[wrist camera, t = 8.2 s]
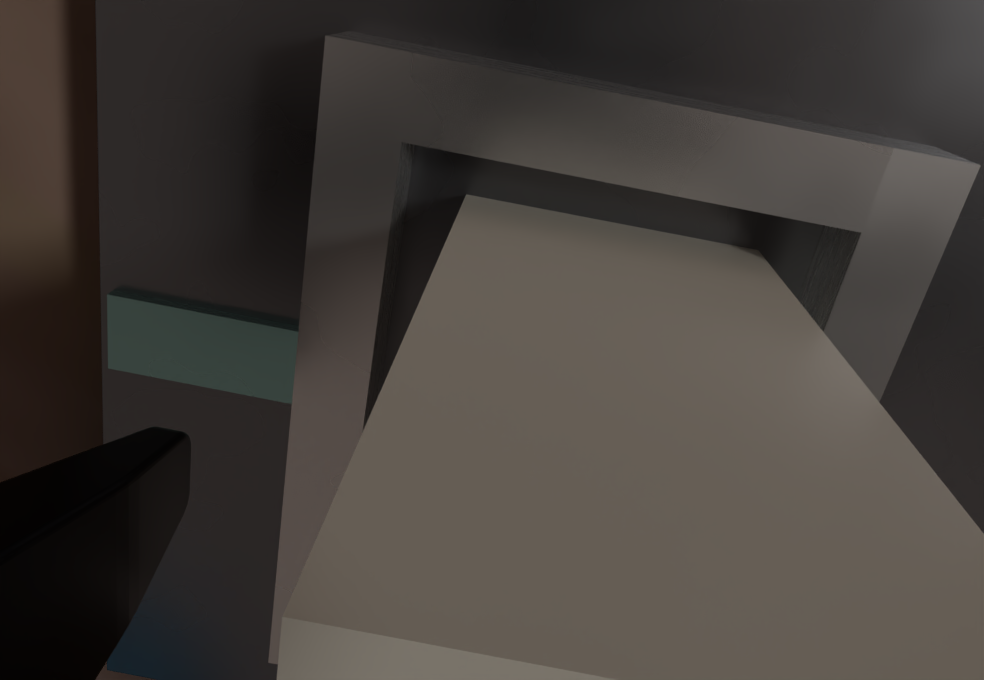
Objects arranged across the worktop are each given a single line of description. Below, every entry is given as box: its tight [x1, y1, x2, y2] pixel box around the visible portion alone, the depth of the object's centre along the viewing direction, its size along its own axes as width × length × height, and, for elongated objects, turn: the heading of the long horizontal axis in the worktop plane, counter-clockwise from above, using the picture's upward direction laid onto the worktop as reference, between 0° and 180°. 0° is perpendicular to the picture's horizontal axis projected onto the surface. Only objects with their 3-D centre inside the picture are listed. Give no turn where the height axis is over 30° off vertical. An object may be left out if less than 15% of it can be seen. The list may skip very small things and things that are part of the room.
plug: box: [277, 194, 984, 680], centre depth 8 cm, size 4×6×9 cm, turn 170°
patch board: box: [95, 0, 984, 680], centre depth 10 cm, size 14×24×2 cm, turn 170°
